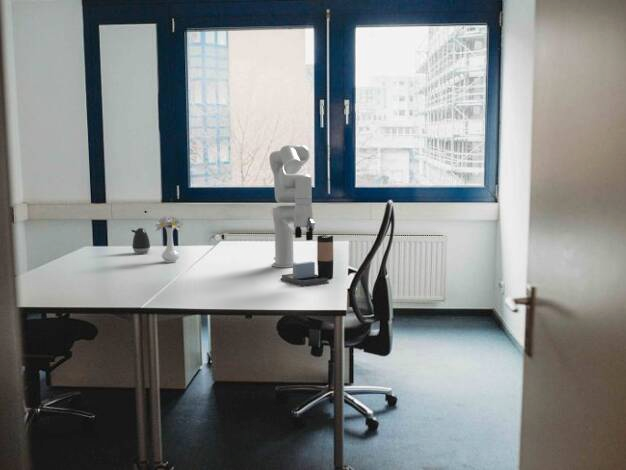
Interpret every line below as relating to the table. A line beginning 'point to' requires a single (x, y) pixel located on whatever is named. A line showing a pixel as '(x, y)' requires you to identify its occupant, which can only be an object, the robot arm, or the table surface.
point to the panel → (303, 269)
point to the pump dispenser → (140, 241)
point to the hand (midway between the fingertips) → (303, 238)
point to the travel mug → (325, 256)
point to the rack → (305, 280)
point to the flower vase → (169, 237)
